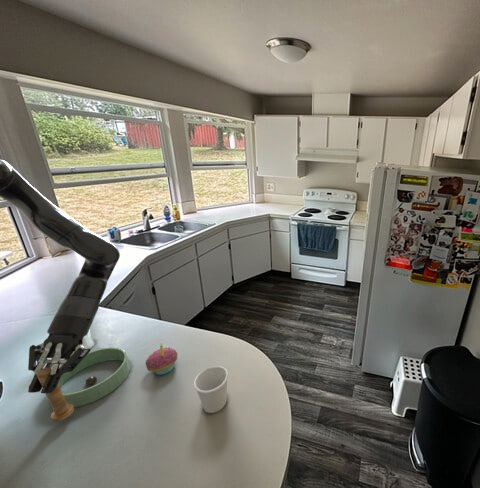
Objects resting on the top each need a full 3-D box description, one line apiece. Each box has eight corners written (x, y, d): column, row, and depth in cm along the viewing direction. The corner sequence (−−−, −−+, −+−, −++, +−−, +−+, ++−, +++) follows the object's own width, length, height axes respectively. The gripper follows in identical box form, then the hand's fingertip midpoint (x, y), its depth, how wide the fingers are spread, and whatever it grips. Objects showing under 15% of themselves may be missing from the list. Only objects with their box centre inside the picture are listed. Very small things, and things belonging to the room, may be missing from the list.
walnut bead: (84, 382, 72) (85, 388, 72) (95, 379, 73) (96, 385, 74) (85, 376, 73) (86, 382, 74) (96, 373, 75) (97, 379, 76)
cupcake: (185, 367, 82) (179, 337, 78) (157, 386, 75) (149, 354, 71) (170, 356, 86) (163, 327, 82) (143, 373, 79) (134, 343, 75)
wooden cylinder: (49, 424, 60) (27, 381, 55) (55, 410, 64) (35, 368, 59) (71, 417, 62) (52, 374, 57) (76, 403, 65) (59, 362, 61)
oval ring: (42, 421, 64) (34, 406, 62) (66, 372, 78) (61, 358, 76) (125, 394, 72) (121, 379, 70) (134, 353, 86) (130, 341, 84)
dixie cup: (207, 426, 64) (202, 398, 61) (193, 406, 69) (188, 378, 66) (237, 404, 70) (234, 377, 67) (222, 386, 75) (218, 360, 72)
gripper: (34, 311, 62) (-9, 392, 54) (89, 314, 61) (53, 396, 54) (63, 316, 68) (28, 389, 61) (113, 319, 68) (83, 392, 61)
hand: (40, 392), depth 57 cm, fingers closed on wooden cylinder, 2 cm apart
